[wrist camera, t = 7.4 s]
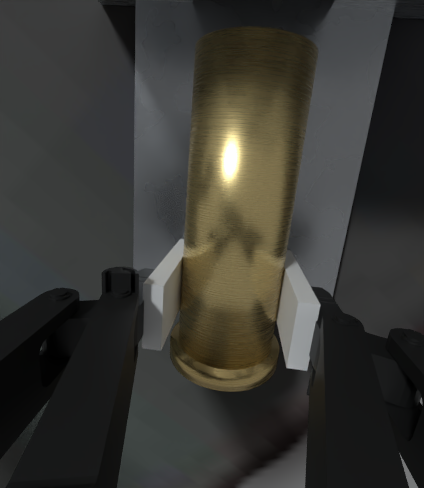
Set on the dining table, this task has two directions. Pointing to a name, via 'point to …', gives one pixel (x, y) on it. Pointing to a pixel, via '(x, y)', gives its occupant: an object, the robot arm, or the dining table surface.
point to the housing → (318, 125)
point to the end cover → (240, 201)
